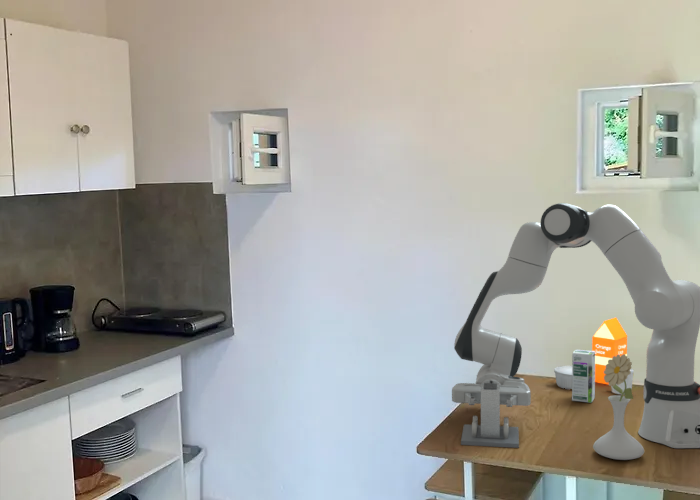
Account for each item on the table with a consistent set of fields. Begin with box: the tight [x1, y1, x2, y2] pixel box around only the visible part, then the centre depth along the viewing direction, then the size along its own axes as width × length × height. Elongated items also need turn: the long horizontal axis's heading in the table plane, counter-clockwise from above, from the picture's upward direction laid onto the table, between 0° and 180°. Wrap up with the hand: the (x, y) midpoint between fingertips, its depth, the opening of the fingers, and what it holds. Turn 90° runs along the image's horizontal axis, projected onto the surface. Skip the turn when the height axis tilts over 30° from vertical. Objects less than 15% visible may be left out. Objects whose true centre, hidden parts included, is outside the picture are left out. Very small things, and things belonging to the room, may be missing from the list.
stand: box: [460, 415, 520, 449], centre depth 196 cm, size 14×13×4 cm
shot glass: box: [610, 368, 635, 396], centre depth 235 cm, size 7×7×7 cm
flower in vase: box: [592, 354, 645, 461], centre depth 180 cm, size 13×11×25 cm
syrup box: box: [571, 349, 596, 404], centre depth 227 cm, size 6×6×14 cm
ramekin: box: [554, 365, 572, 390], centre depth 242 cm, size 11×11×5 cm
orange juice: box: [591, 317, 628, 386], centre depth 247 cm, size 8×9×20 cm
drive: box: [480, 383, 501, 437], centre depth 195 cm, size 5×6×12 cm
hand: (490, 403), depth 195 cm, fingers open, 8 cm apart
